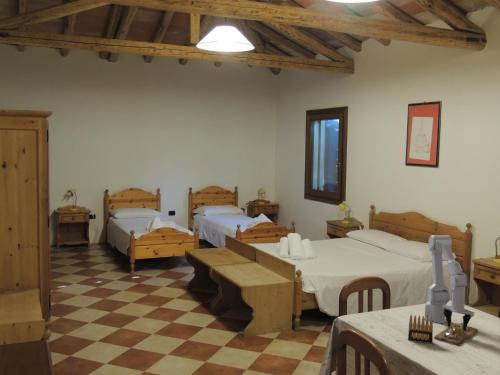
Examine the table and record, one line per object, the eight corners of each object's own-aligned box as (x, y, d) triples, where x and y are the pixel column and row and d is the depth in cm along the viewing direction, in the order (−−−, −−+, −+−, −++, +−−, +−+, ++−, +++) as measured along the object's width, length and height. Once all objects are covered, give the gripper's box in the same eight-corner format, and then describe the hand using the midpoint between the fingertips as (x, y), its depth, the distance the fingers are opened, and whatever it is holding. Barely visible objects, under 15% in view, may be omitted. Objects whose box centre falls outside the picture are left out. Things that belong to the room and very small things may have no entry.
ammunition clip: (432, 341, 231) (433, 316, 230) (432, 343, 230) (433, 317, 229) (408, 338, 235) (409, 313, 234) (407, 340, 233) (408, 314, 232)
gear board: (434, 338, 235) (434, 336, 235) (455, 325, 252) (455, 323, 252) (457, 345, 227) (458, 342, 227) (477, 331, 244) (478, 328, 244)
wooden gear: (453, 329, 244) (453, 323, 243) (465, 332, 240) (465, 326, 239) (448, 332, 239) (448, 326, 239) (460, 335, 235) (460, 329, 235)
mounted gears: (442, 336, 234) (442, 329, 234) (459, 325, 249) (459, 319, 248) (453, 340, 231) (454, 333, 230) (470, 328, 245) (470, 322, 244)
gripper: (439, 298, 240) (438, 325, 241) (470, 305, 230) (469, 334, 231) (445, 294, 245) (444, 322, 247) (476, 301, 235) (475, 330, 236)
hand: (456, 327), depth 239 cm, fingers open, 7 cm apart
